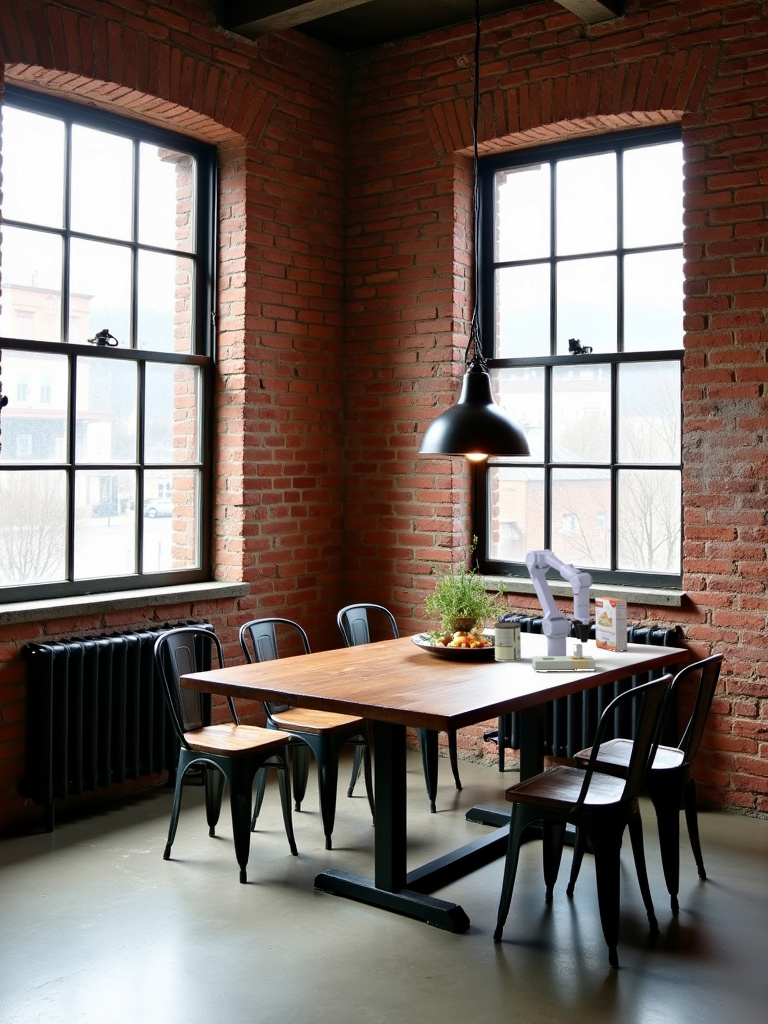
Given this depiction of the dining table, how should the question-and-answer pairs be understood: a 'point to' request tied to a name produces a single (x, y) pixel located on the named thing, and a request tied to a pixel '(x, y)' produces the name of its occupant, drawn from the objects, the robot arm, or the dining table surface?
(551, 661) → the hole block
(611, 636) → the cracker box
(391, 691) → the dining table surface
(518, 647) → the coffee can
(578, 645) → the steel peg
